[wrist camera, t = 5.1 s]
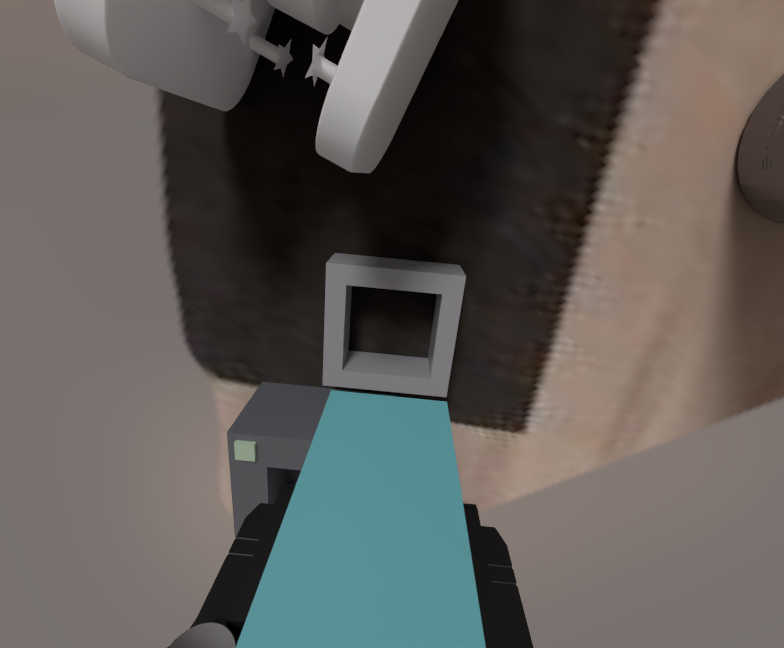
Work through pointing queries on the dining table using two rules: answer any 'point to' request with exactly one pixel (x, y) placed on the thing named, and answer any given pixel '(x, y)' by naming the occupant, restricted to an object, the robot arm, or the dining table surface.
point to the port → (272, 442)
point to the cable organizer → (272, 56)
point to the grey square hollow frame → (386, 368)
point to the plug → (372, 537)
